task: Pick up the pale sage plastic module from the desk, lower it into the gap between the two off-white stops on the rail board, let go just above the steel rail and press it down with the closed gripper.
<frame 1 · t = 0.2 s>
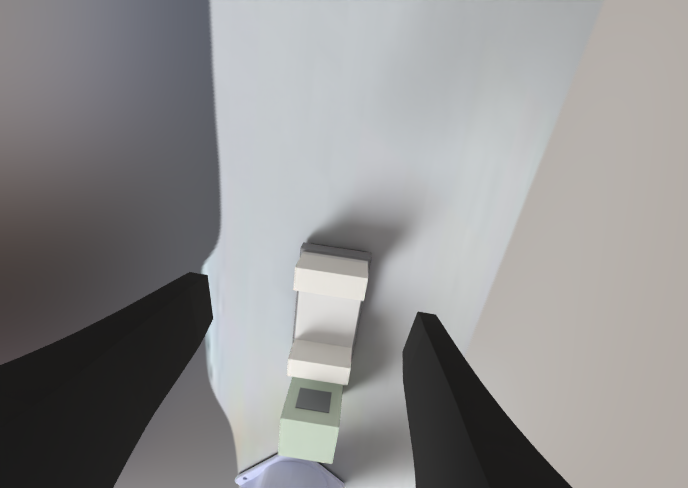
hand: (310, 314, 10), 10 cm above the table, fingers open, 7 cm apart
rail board: (329, 302, 22), on the table
sage module: (319, 377, 25), on the table
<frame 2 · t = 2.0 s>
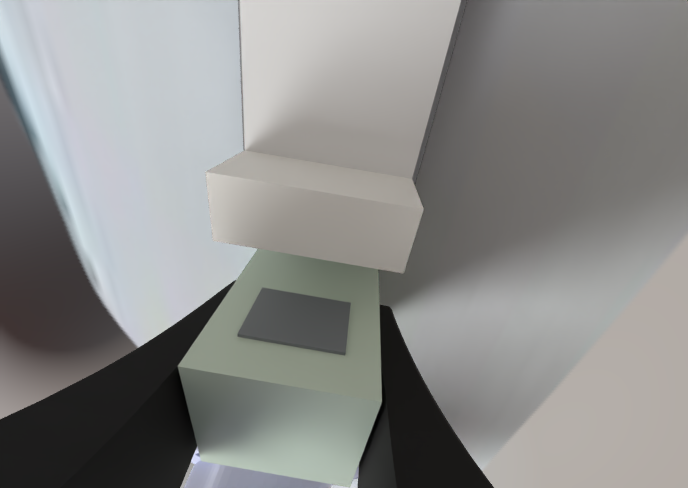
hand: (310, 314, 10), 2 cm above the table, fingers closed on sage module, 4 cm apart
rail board: (348, 39, 7), on the table
sage module: (317, 285, 11), on the table, touching gripper
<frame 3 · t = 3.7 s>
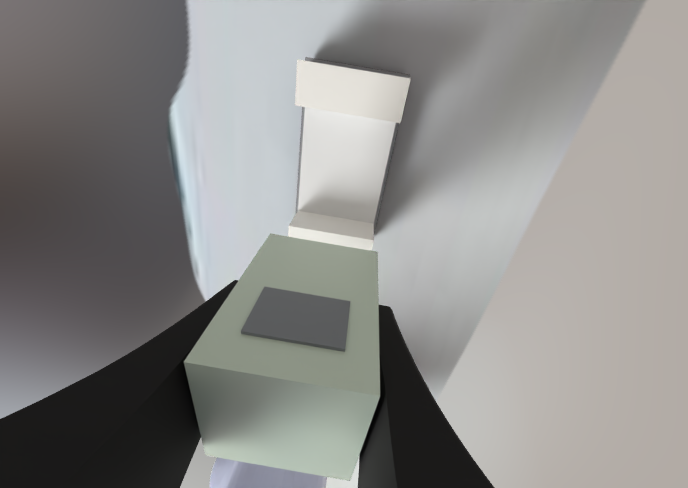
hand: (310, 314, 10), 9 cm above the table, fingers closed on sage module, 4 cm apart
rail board: (344, 162, 16), on the table
sage module: (318, 284, 11), point 7 cm above the table, touching gripper
when the fingers open (4 cm above the table, at t = 5.2 s): sage module stays where it is, resting on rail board.
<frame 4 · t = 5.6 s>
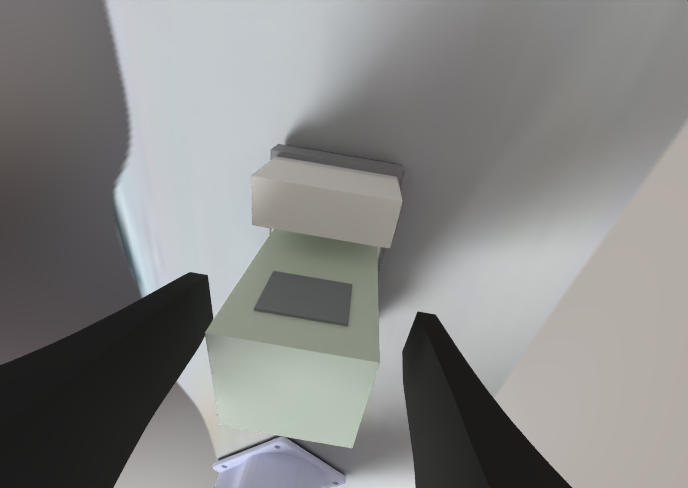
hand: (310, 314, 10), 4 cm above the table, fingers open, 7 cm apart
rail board: (326, 253, 13), on the table
sage module: (321, 273, 12), point 1 cm above the table, touching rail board
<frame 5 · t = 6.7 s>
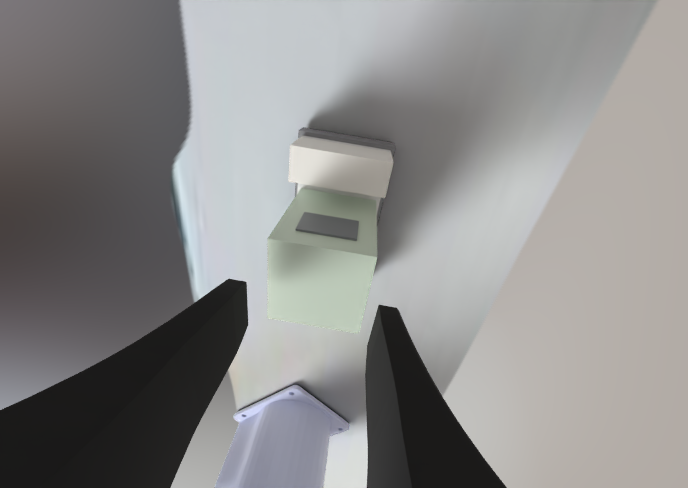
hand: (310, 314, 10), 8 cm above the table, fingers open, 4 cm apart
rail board: (337, 214, 17), on the table
sage module: (334, 227, 16), point 1 cm above the table, touching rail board
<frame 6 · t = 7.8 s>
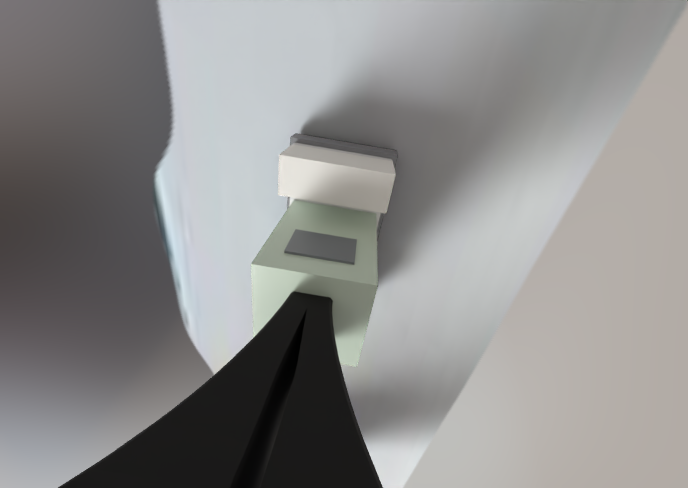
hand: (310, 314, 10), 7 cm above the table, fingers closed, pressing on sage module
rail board: (333, 227, 16), on the table
sage module: (330, 242, 15), point 1 cm above the table, touching gripper, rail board
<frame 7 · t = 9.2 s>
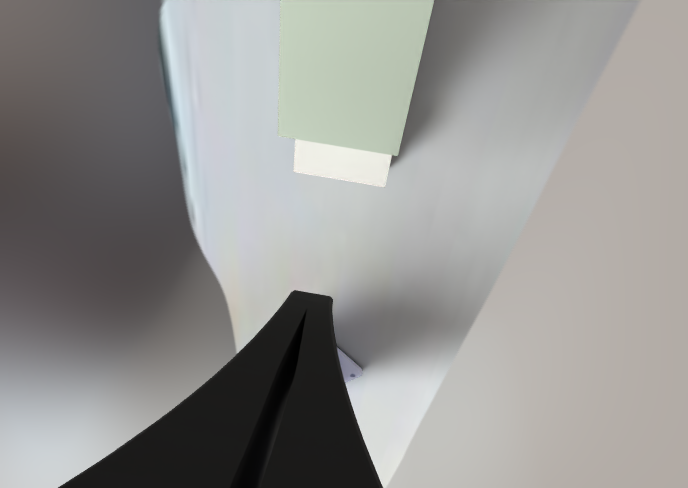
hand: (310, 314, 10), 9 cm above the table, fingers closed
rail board: (358, 73, 14), on the table
sage module: (356, 77, 13), point 1 cm above the table, touching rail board
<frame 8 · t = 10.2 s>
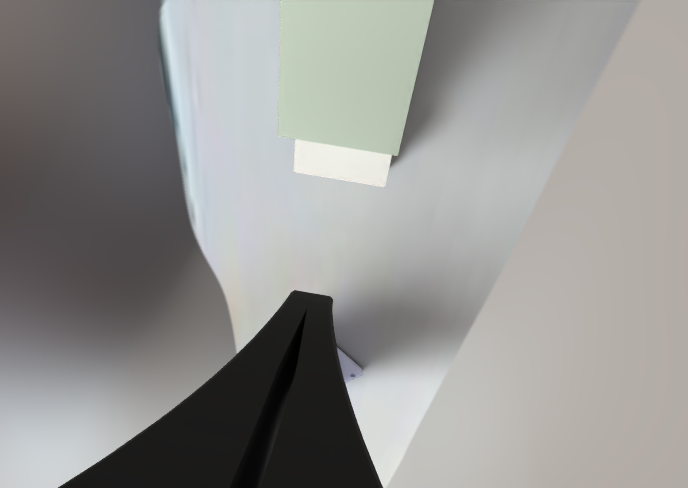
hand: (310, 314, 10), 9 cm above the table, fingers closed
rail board: (358, 73, 14), on the table
sage module: (356, 77, 13), point 1 cm above the table, touching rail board
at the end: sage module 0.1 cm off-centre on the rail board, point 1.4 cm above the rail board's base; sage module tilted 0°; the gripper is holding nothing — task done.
